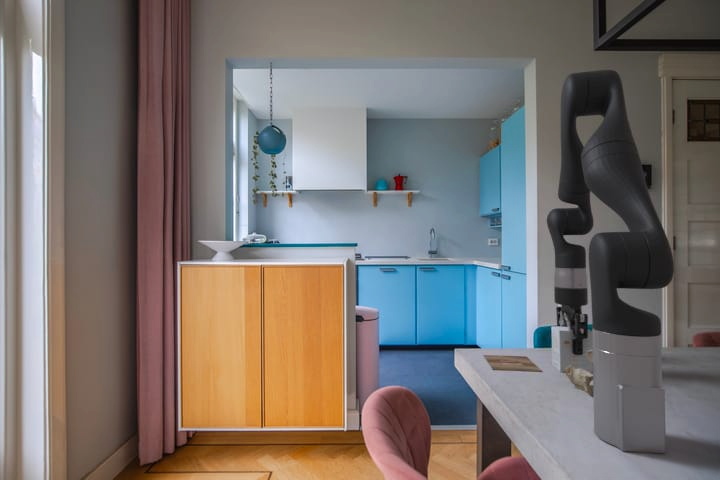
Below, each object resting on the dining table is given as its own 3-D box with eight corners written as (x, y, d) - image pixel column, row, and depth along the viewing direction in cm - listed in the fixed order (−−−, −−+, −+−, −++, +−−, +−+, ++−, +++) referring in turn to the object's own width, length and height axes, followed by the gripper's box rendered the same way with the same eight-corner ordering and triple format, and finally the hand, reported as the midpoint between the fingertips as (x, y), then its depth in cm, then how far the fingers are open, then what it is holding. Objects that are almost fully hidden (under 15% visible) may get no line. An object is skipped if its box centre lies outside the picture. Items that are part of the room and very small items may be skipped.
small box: (583, 367, 102) (583, 326, 102) (594, 373, 96) (593, 330, 97) (551, 366, 103) (550, 325, 103) (559, 372, 97) (559, 329, 98)
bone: (561, 386, 83) (566, 341, 87) (562, 394, 88) (567, 351, 92) (609, 397, 78) (612, 349, 83) (608, 405, 83) (611, 359, 87)
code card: (542, 371, 98) (542, 371, 98) (492, 369, 100) (492, 369, 100) (526, 356, 112) (526, 356, 112) (483, 355, 113) (483, 354, 113)
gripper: (599, 288, 93) (600, 359, 92) (574, 283, 107) (575, 344, 107) (565, 288, 94) (567, 358, 93) (545, 283, 108) (546, 344, 108)
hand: (571, 350), depth 100 cm, fingers open, 6 cm apart
